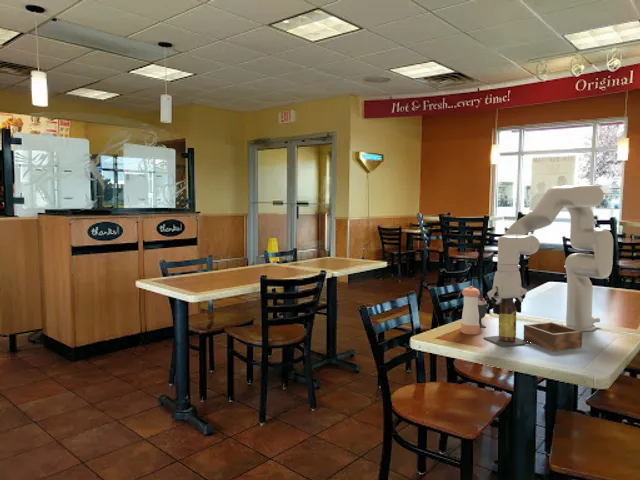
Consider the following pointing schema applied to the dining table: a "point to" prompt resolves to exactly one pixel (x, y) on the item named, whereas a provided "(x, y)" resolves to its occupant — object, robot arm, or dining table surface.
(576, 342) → the caddy
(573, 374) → the dining table surface
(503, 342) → the mat
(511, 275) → the robot arm
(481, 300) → the sundae
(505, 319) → the sauce bottle
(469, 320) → the salt shaker
